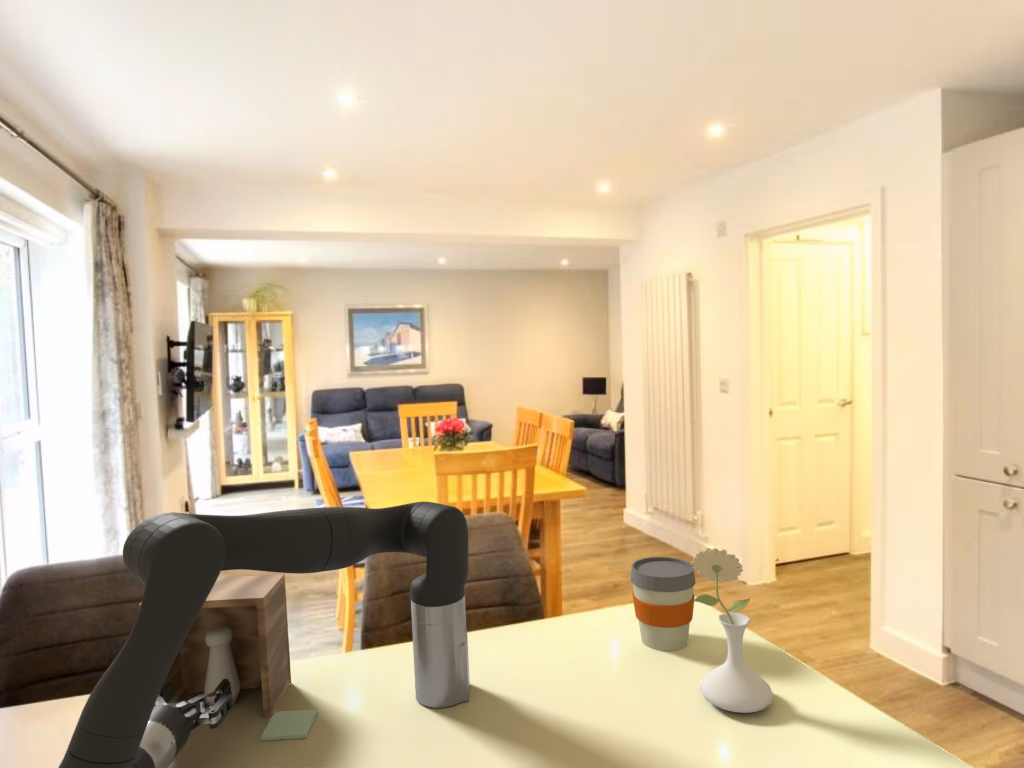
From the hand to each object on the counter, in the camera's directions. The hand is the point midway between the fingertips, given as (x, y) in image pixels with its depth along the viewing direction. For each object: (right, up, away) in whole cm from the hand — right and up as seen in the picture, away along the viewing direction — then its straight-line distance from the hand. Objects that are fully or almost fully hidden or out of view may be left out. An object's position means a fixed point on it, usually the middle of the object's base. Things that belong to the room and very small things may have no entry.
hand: (199, 686), depth 103 cm
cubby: (0, -7, +9) cm, 11 cm away
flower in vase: (+86, -4, +4) cm, 86 cm away
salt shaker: (0, -7, +9) cm, 11 cm away
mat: (+14, -7, +1) cm, 16 cm away
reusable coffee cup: (+80, -3, +25) cm, 84 cm away
